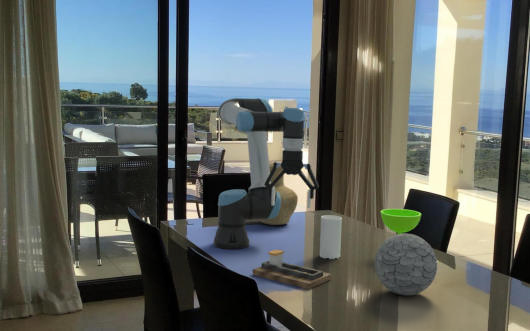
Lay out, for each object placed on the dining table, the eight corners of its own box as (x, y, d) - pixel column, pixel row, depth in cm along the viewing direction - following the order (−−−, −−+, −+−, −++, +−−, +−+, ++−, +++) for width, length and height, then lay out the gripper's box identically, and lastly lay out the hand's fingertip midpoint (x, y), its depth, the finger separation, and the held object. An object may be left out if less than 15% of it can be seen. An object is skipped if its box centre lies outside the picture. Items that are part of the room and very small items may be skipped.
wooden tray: (252, 274, 208) (252, 264, 208) (275, 266, 219) (276, 256, 219) (309, 289, 194) (309, 278, 193) (330, 279, 205) (331, 269, 204)
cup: (339, 259, 230) (341, 219, 228) (318, 258, 232) (320, 218, 230) (340, 254, 238) (342, 215, 236) (320, 252, 240) (322, 214, 238)
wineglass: (392, 249, 249) (394, 207, 247) (426, 256, 237) (428, 213, 235) (370, 255, 238) (372, 212, 235) (404, 264, 226) (407, 218, 224)
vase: (297, 229, 281) (299, 167, 277) (251, 228, 281) (252, 166, 278) (296, 219, 303) (297, 162, 300) (252, 218, 304) (254, 161, 300)
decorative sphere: (397, 307, 179) (400, 243, 176) (361, 287, 197) (364, 229, 194) (448, 300, 187) (452, 238, 184) (409, 281, 205) (412, 225, 202)
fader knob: (267, 267, 209) (268, 252, 209) (275, 264, 213) (276, 249, 213) (275, 269, 207) (276, 253, 207) (283, 266, 211) (283, 251, 211)
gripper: (257, 149, 214) (256, 205, 217) (325, 152, 210) (323, 210, 213) (261, 147, 222) (260, 202, 224) (327, 150, 217) (325, 206, 220)
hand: (290, 206), depth 219 cm, fingers open, 13 cm apart
